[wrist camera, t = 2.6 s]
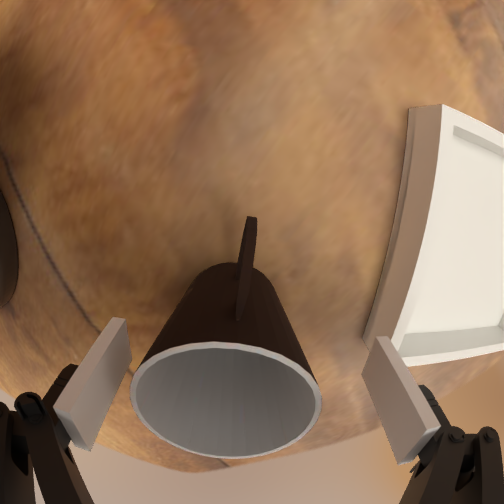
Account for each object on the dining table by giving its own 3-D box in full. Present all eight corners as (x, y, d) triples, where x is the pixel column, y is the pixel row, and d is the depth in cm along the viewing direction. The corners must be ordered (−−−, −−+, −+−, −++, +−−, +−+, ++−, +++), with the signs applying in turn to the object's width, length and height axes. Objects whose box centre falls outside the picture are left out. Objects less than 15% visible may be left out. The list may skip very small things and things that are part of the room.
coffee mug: (247, 365, 23) (249, 470, 14) (153, 314, 21) (108, 415, 12) (343, 256, 20) (410, 344, 10) (239, 182, 18) (232, 225, 9)
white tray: (362, 337, 22) (378, 369, 19) (408, 108, 16) (442, 104, 12) (494, 328, 23) (513, 347, 20) (538, 168, 17) (565, 175, 13)
